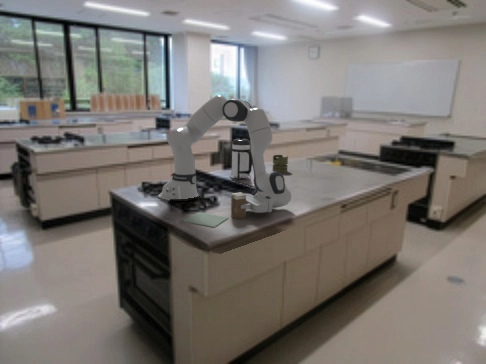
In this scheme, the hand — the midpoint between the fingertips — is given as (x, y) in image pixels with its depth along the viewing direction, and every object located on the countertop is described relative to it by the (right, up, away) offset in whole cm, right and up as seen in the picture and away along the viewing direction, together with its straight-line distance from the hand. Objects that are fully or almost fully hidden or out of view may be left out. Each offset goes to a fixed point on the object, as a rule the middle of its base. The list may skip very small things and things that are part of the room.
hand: (236, 204), depth 159 cm
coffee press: (+2, +13, +77) cm, 78 cm away
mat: (-14, -7, -3) cm, 16 cm away
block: (+1, -6, +2) cm, 6 cm away
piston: (+31, +18, +104) cm, 110 cm away
